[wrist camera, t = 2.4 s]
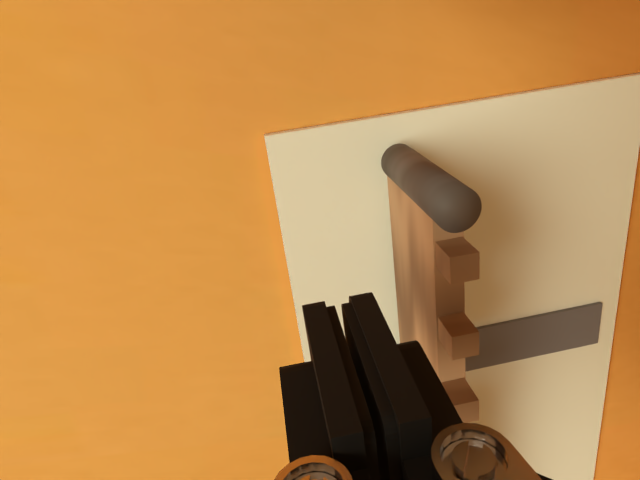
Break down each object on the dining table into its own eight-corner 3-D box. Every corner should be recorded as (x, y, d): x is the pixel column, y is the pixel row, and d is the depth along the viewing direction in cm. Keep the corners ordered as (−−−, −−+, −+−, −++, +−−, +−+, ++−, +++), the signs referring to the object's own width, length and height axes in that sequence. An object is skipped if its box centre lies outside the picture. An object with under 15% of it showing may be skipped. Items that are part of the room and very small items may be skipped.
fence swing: (425, 343, 23) (485, 445, 18) (396, 349, 23) (448, 453, 17) (414, 140, 19) (488, 187, 14) (379, 146, 19) (439, 196, 13)
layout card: (583, 520, 32) (589, 529, 32) (343, 580, 31) (345, 589, 30) (642, 72, 21) (653, 73, 20) (264, 134, 19) (264, 137, 19)
